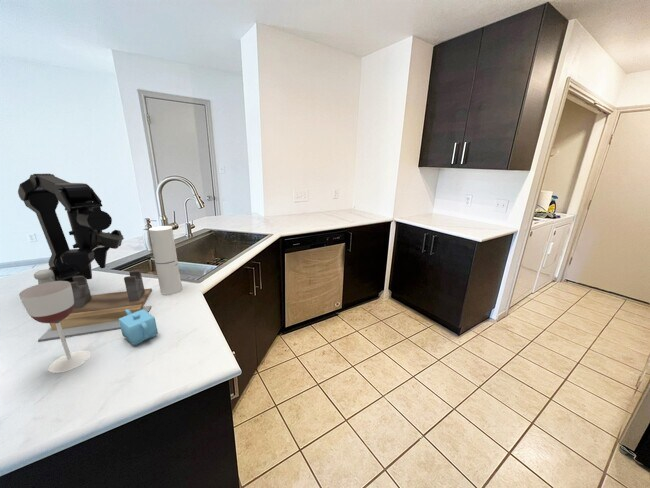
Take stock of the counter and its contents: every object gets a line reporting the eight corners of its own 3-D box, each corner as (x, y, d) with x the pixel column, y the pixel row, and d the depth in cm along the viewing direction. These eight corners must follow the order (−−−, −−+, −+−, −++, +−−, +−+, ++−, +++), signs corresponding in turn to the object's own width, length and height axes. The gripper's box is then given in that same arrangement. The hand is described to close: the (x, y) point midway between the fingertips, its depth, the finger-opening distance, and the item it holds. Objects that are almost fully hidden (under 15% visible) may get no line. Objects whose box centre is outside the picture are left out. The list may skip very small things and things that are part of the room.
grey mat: (62, 319, 79) (61, 317, 79) (151, 307, 87) (151, 305, 87) (38, 341, 70) (37, 339, 69) (141, 325, 77) (141, 323, 77)
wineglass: (53, 379, 58) (24, 301, 52) (42, 363, 62) (14, 290, 56) (97, 358, 64) (76, 287, 58) (84, 345, 69) (63, 277, 63)
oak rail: (58, 324, 76) (55, 315, 75) (144, 312, 83) (142, 304, 82) (51, 330, 73) (48, 321, 72) (141, 317, 81) (139, 308, 80)
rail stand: (80, 299, 91) (73, 273, 88) (152, 290, 98) (147, 266, 95) (60, 317, 80) (51, 289, 77) (142, 306, 88) (136, 279, 85)
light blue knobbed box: (118, 334, 74) (112, 311, 71) (142, 323, 78) (137, 302, 76) (136, 350, 67) (130, 326, 65) (161, 338, 72) (156, 315, 70)
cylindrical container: (156, 292, 97) (144, 229, 90) (173, 284, 103) (163, 225, 96) (169, 296, 95) (158, 231, 87) (186, 288, 101) (176, 227, 93)
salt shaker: (50, 311, 83) (37, 275, 79) (36, 309, 84) (24, 273, 80) (70, 302, 89) (60, 268, 85) (57, 300, 90) (46, 266, 86)
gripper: (102, 232, 72) (115, 282, 76) (126, 218, 88) (135, 260, 93) (51, 234, 68) (68, 287, 73) (87, 220, 85) (98, 263, 89)
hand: (96, 273), depth 82 cm, fingers open, 9 cm apart
